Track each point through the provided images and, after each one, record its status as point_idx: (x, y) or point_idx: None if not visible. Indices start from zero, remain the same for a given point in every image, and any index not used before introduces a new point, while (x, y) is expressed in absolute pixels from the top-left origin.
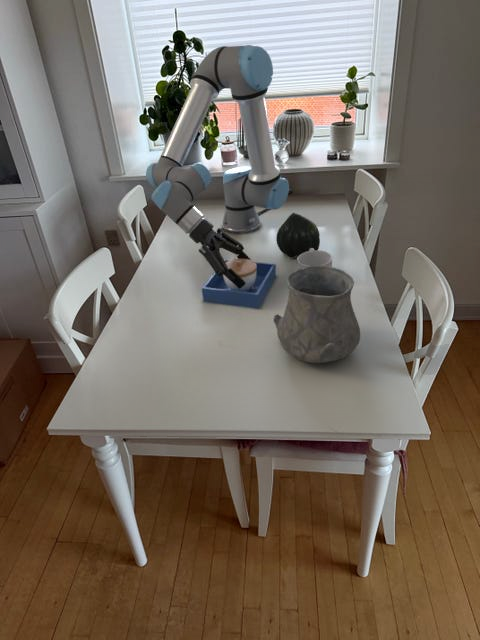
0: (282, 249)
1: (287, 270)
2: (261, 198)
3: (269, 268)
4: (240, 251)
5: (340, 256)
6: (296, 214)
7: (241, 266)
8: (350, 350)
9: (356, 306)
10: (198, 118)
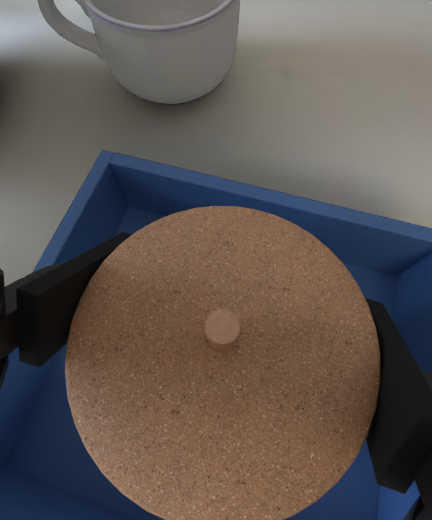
0: None
1: (76, 154)
2: None
3: (108, 193)
4: (5, 313)
5: (24, 7)
6: None
7: (236, 314)
8: None
9: (347, 4)
10: None
